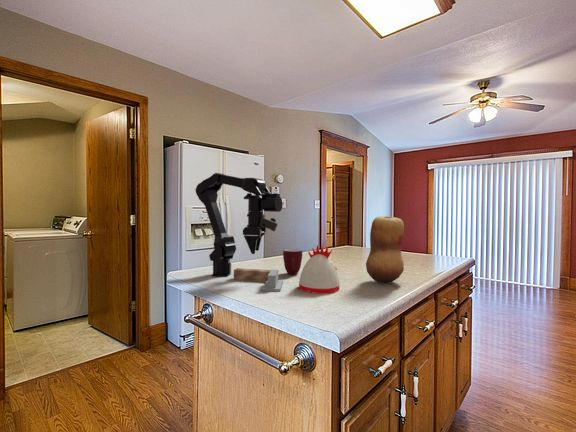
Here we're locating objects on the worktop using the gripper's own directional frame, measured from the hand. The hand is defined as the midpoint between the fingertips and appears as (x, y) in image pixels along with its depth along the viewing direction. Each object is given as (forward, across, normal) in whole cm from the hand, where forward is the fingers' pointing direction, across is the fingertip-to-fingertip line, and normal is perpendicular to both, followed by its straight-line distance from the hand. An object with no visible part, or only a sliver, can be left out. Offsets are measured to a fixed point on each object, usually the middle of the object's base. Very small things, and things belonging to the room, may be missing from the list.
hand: (255, 252), depth 118 cm
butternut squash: (+11, +1, -49) cm, 50 cm away
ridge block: (+10, -10, -8) cm, 17 cm away
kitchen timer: (+11, -10, -24) cm, 28 cm away
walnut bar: (+11, 0, 0) cm, 11 cm away
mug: (+11, +11, -14) cm, 21 cm away
